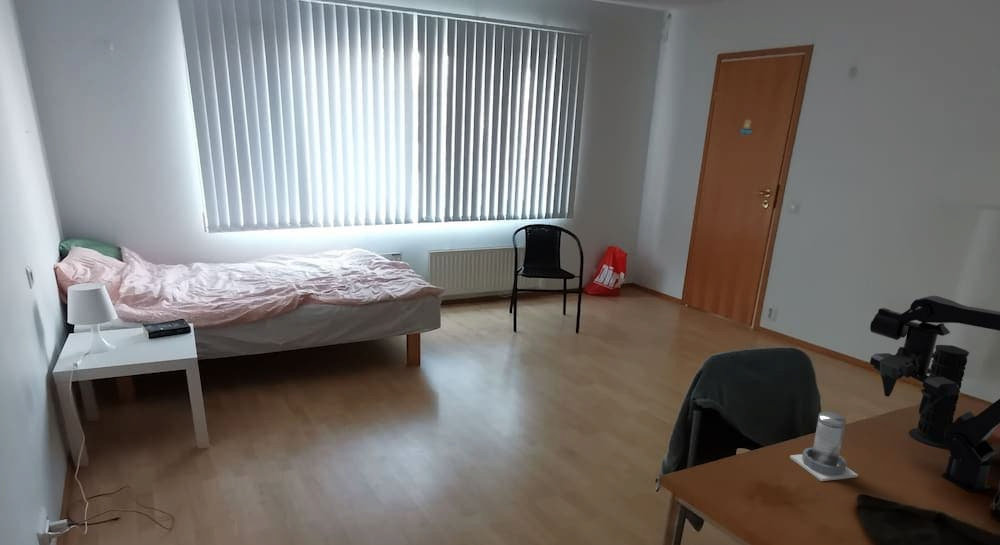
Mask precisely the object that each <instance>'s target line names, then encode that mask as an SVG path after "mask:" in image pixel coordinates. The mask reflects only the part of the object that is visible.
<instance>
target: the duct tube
mask: <svg viewBox="0 0 1000 545" xmlns="http://www.w3.org/2000/svg"><path fill="white" fill-rule="evenodd" d="M845 427H846V418H845V417H844V416H842V415H841V414H838V413H835V412H833V411H820V412H819V414H818V417H817V424H816V431H815V436H814V441H813V446H812V448H813V451H812V457H811V459H813V460H814V461H816V462H818V463H821V464H823V465H829V466H837V464H838V459H839V455H840V452H841V447H842V443H843V442H842V441H843V437H844V431H845Z"/></svg>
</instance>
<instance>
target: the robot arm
mask: <svg viewBox="0 0 1000 545" xmlns="http://www.w3.org/2000/svg"><path fill="white" fill-rule="evenodd" d="M914 321H919V322H920V323H917V322H914ZM935 323H936V324H937V325H936V324H935ZM947 323H948V324H950V323H951V324H952V323H953V324H961V325H966V326H973V327H978V328H983V329H988V330H989V329H990V330H995V331H999V332H1000V311H997V310H992V309H986V308H979V307H973V306H967V305H964V304H961V303H958V302H956V301H954V300H951V299H950V298H949V299H948V298H945V297H942V296H938V295H929V296H925V297H920V298H916V299H915V300H914V301H912V303H911V304H910V307H909V309H907V310H906V311H905V312H903V313H901V312H898V311H893V310H890V309H888V308H885V307H882V308H879V309H878V311H877V313H876V314H875V316H874V317H873V319H872V320H871V323H870V327H869V329H870V332H871V334H872V333H873V334H875V335H879V336H882V337H885V338H888V339H889V338H890V339H892V340H895V341H898V340H900V339H901V338H905V337H906V338H905V341H904V345H903V346H899V348H897V352H896V353H895V354H892V353H889V352H885V353H884V352H882V353H874V354H872V356H870V360H869V364H870V365H872V366H873V368H874V370H876V371H877V372H878V373H879V374H880V378H881V380H882V386H883V393H884V396H885V397H890V396H891V394H892V392H893V390H894V389H895V385H896V383H897V381H898V380H900V379H902V377H905V378H907V379H908V378H913V379H915V380H916V381H919V382H921V383H922V387H923V389H921V388H920V392H921V393H922V398H921V401H920V404H919V409H918V414H919V415H921V414H924V413H925V412H926V411H927V410H928V409H929V408H930V407H931V406H932V405H934V404H935V403H936V402H937V401H938V400H939V399H941V398H942V397H944V396H950V395H957V393H958V389H959V387H958V385H957V383H955V382H953V381H951V380H948V379H946V378H944V377H930V376H929V375H930V373H932V369H931V367H930V366H931V365H930V364H931V362H932V359H933V358H936V355H937V354H936V353H934V350H935V346H936V343H937V338H938V336H946V335H950V333H951V331H950V330H949V329H948V328H947V327H946V326H945V324H947ZM928 374H929V375H928ZM999 425H1000V398H998V399H997V400H996V401H994V402H993V403H992V404H991V405H989V406H988V407H987V408H985V409H984V410H983V411H982V412H979V413H978V414H977V415H974V414H973V413H972V412H971V411H970V410H969V411H967V412H965V413H963V414H962V415H959V416H958V417H957V418H956V419H955V421H953V422H952V423H951V424H949V425H948V426H946V428H948V430H946V432H945V433H944V439H945V442H946V444H947V445H948V446H949V448H950V449H949V451H950V452H949V454H950V455H949V456H948V459H947V463H946V464H947V465H946V467H945V472H941V476H942V477H943V478H945V479H946V480H948V481H950V482H952V483H954V484H955V485H957V486H959V487H961V489H965V490H966V491H967V492H973V491H974V492H975V491H981V490H990V489H991V485H989V484H987V481H988V476H989V473H990V470H991V464H990V463H988V460H989V459H991V458H993V456H994V455H996V453H997V451H996V449H995V448H994V447H993V446H992V444H991V443H990V442H989V441H988V439H989V438H990V437H991V435H993V432H994V431H995V430H996V428H997V427H998V426H999Z"/></svg>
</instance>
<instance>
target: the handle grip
mask: <svg viewBox="0 0 1000 545" xmlns="http://www.w3.org/2000/svg"><path fill="white" fill-rule="evenodd" d="M934 349H935V351H933V353H936V354H937V355H936V358H932V359H931V362H932V363H931V365H930V369H932V373H930V374H929V375H928V376H930V377H944V378H946V379H948V380H951V381H953V382H955V383H957V385H958V387H959V389H958V393H957V395H950V396H944V397H942V398H941V399H939V400H938V401H937V402H936V403H935V404H934V405H932V406H931V407H930V408H929V409H928V410H927V411H926V412H925V413H924V414H919V415H920V416H919V420H918V424H917V428H911V429H910V430H909V431H908V435H909V436H910V437H911V438H913V439H914V440H915V441H917V442H919V443H921V444H924V445H927V446H930V447H933V448H939V449H946V448H949V446H948V445H947V444H946V442H945V439H944V433H945V432H946V430H948V428H946V426H948V425H949V424H951V423H953V422H954V416H955V412H956V411H957V404H958V400H959V398H960V396H959V393H961V389H962V388H961V387H962V382H963V380H964V379H963V378H964V376H965V370H966V366H967V363H968V356H969V355H970V352H969V351H968V350H967V349H964V348H961V347H958V346H955V345H950V344H935V346H934ZM946 450H947V449H946Z"/></svg>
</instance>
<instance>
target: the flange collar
mask: <svg viewBox="0 0 1000 545" xmlns="http://www.w3.org/2000/svg"><path fill="white" fill-rule="evenodd" d="M812 451H813V447H806V448H805V449H804V450H803V451H802V454H801V453H800V454H793V455H792V454H791V455H789V458H790V459H791V460H792V461H794V462H795V463H797V464H798V465H799V466H800V467H802V468H803V469H805V470H806V471H807V472H808V473H810V474H811V475H812V476H813V477H815V478H816V479H818V480H819V481H820V482H825V481H835V480H845V479H846V480H847V479H853V478H858V477H859V474H858V473H856V472H854V471H853V470H851V469H850V468H849V467H847V464H848V463H847V462H846V460H845V458H844V457H843V456H841V455H840V454H839V459H838V464H837V466H829V465H823V464H821V463H818V462H816V461H814V460H813V459H811V457H812Z"/></svg>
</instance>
